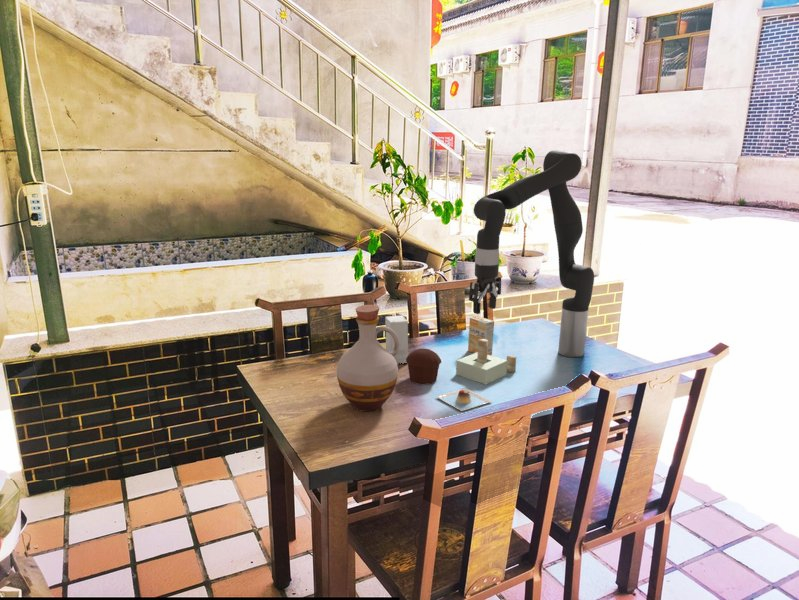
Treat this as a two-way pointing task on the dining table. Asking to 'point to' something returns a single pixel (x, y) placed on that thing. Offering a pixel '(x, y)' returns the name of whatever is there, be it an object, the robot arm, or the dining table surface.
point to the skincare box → (401, 330)
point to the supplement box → (480, 333)
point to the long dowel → (482, 351)
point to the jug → (368, 364)
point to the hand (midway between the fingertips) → (484, 310)
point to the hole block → (481, 368)
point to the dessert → (463, 397)
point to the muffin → (423, 366)
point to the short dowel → (511, 363)
